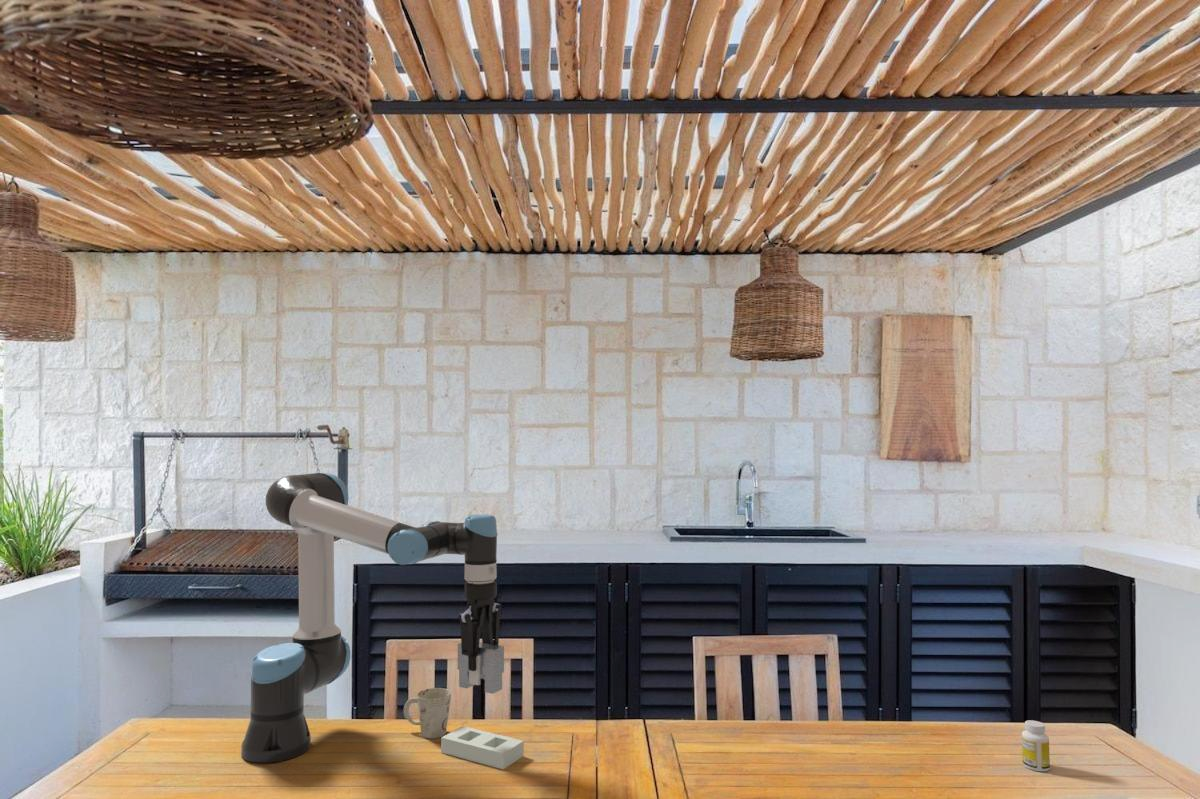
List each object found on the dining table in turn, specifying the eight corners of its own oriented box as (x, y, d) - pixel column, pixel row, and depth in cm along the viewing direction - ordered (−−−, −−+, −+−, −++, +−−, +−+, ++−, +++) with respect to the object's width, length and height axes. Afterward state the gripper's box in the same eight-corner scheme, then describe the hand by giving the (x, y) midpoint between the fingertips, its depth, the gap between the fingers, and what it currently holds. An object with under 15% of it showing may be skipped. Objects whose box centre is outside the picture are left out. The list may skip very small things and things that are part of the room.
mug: (442, 742, 183) (443, 700, 183) (394, 737, 185) (395, 696, 185) (455, 728, 191) (456, 689, 191) (410, 724, 193) (410, 685, 194)
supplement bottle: (1046, 763, 172) (1045, 720, 173) (1052, 774, 167) (1051, 729, 168) (1020, 760, 174) (1019, 717, 175) (1025, 770, 169) (1024, 726, 169)
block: (441, 752, 176) (441, 737, 177) (462, 740, 183) (463, 726, 184) (503, 769, 168) (503, 753, 168) (523, 756, 175) (523, 740, 175)
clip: (457, 686, 177) (457, 643, 177) (467, 682, 180) (467, 640, 180) (494, 694, 172) (494, 649, 172) (503, 689, 175) (504, 646, 175)
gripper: (470, 588, 168) (470, 694, 167) (514, 576, 182) (514, 673, 181) (445, 585, 172) (444, 689, 171) (489, 573, 186) (489, 669, 185)
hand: (480, 681), depth 176 cm, fingers closed on clip, 3 cm apart
